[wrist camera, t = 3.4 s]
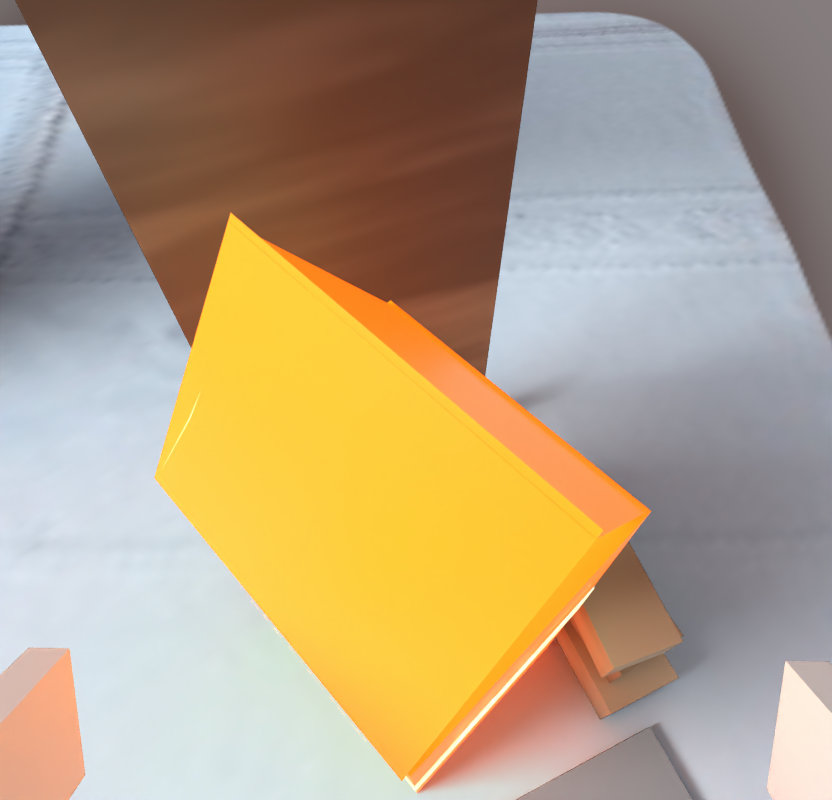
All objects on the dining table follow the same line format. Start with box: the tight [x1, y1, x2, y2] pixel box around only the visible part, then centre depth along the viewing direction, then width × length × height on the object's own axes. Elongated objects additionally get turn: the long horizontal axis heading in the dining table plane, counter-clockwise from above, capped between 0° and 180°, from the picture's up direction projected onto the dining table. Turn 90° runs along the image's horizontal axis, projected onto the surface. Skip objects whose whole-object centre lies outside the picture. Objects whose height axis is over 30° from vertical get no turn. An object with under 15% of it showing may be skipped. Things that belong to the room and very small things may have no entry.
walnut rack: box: [15, 0, 684, 719], centre depth 19 cm, size 18×12×24 cm, turn 24°
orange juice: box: [155, 213, 651, 793], centre depth 19 cm, size 8×9×20 cm
